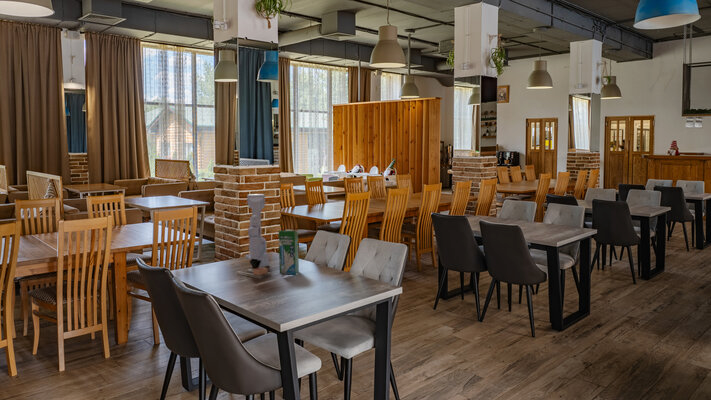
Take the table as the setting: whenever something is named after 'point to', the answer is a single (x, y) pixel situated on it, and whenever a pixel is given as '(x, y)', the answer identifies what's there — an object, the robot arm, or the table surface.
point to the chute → (253, 274)
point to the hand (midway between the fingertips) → (255, 272)
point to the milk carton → (288, 252)
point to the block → (260, 271)
